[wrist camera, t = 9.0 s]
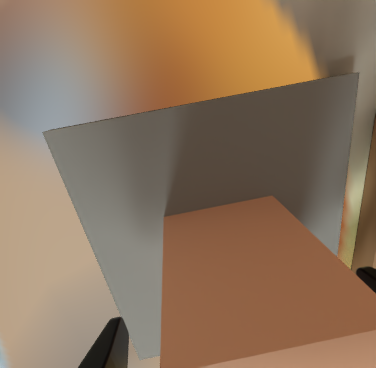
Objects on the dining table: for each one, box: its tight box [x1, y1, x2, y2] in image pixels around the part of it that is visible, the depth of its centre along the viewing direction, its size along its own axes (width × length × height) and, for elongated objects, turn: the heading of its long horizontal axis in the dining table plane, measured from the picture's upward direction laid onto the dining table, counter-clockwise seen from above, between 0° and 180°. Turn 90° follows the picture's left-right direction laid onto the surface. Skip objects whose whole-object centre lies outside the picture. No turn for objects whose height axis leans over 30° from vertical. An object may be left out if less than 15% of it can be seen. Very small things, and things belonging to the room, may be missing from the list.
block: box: [160, 196, 376, 368], centre depth 8 cm, size 5×5×6 cm
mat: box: [43, 73, 359, 360], centre depth 11 cm, size 14×12×1 cm
